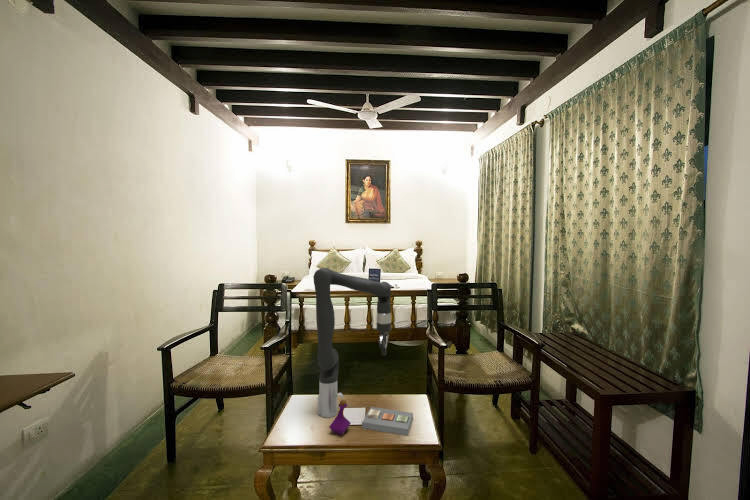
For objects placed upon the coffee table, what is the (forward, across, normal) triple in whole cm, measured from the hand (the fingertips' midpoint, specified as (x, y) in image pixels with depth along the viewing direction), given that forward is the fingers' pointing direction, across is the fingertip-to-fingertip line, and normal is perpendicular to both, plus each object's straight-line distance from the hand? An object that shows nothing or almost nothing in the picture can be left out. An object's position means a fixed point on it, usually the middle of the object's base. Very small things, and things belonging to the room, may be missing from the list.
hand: (383, 355), depth 169 cm
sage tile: (+30, +7, +11) cm, 32 cm away
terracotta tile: (+30, +7, +4) cm, 31 cm away
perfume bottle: (+31, +20, -16) cm, 40 cm away
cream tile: (+28, +7, -3) cm, 30 cm away
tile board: (+31, +7, +4) cm, 32 cm away
